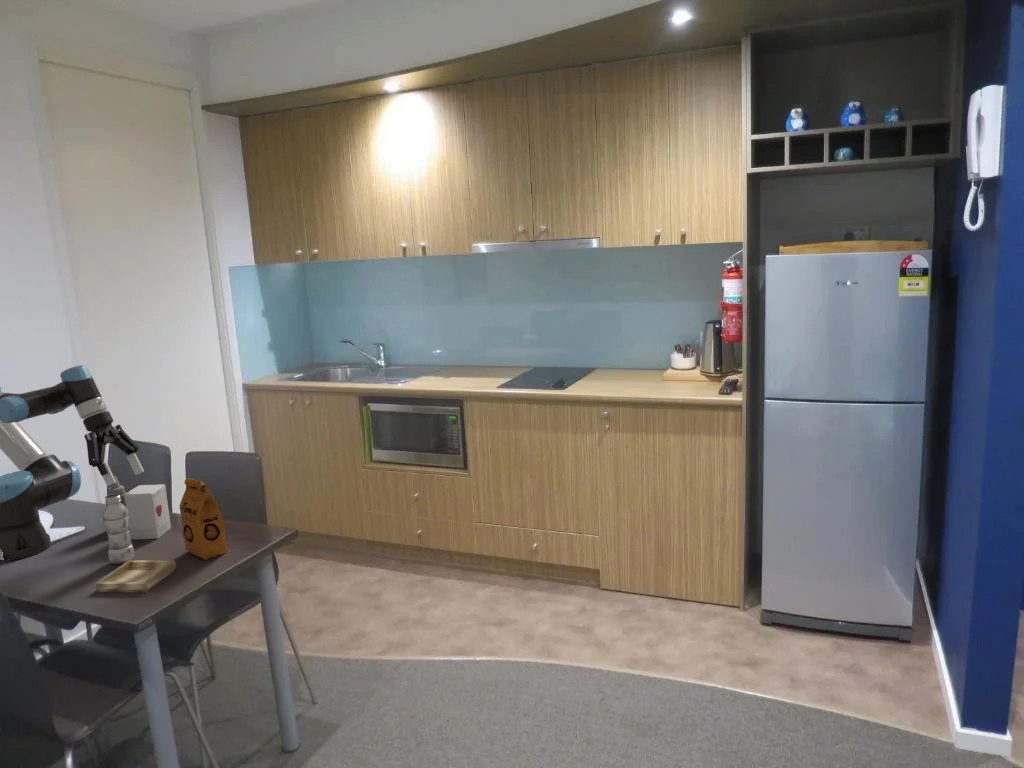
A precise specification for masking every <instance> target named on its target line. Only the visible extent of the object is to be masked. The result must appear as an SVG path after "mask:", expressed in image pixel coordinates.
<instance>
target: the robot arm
mask: <svg viewBox="0 0 1024 768" xmlns="http://www.w3.org/2000/svg"><path fill="white" fill-rule="evenodd" d="M93 377H94V376H93V375H92V374H91V371H90V370H89V369H88V367H87V366H86V365H85V364H84V365H83V364H82V365H81V364H80V365H76V366H73V367H70V368H67V369H64V370H63V371H61V372H60V382H59V383H58V384H55V385H52V386H49V387H44V388H41V389H36V390H31V391H28V392H22V393H12V392H3V391H2V388H1V386H0V450H1V451H2V452H3V454H4V455H5V456H6V457H8V459H9V460H10V461H11V462H12V464H14V466H15V467H16V468H17V469H18V470H19V471H18V470H16V471H13V472H10V473H9V472H8V473H5V474H3V475H0V549H1V550H2V552H3V558H4V561H13V560H19V559H23V558H28V557H31V556H35V555H36V554H39V553H41V552H44V551H46V550H47V549H48V548H49V547H51V545H52V541H51V537H50V534H49V533H48V532H47V531H46V528H45V527H44V525H43V523H42V522H41V518H40V513H39V511H40V510H41V509H44V508H46V507H50V506H51V505H54V504H56V503H59V502H62V501H66V500H67V499H69V498H71V497H73V496H75V495H76V494H77V493H78V492H79V491H80V489H81V485H82V480H81V479H82V475H81V472H80V470H79V468H78V466H77V464H75V462H73V461H70V460H62V461H61V460H60V459H59V458H58V456H56V455H55V454H53V453H47V452H45V450H43V448H42V447H41V446H40V445H39V444H38V443H37V442H36V441H35V439H34V438H33V437H32V436H31V435H30V434H29V433H28V432H27V431H26V430H25V429H24V427H22V425H21V424H20V423H19V422H22V421H25V420H29V419H31V418H32V419H33V418H37V417H40V416H44V415H56V414H58V413H61V412H64V411H65V410H67V409H68V408H69V407H71V406H73V405H74V407H75V410H77V414H78V416H79V418H80V419H82V420H83V421H82V423H83V425H84V427H85V430H86V431H87V432H89V433H86V434H84V439H85V441H86V447H87V448H86V449H87V458H88V465H89V466H92V468H95V467H97V471H99V474H100V476H101V477H102V479H103V480H104V483H105V484H106V487H108V486H109V487H110V486H111V484H113V483H116V480H115V478H114V476H115V475H114V474H113V472H112V471H111V468H110V466H109V464H108V462H107V461H105V453H106V447H107V445H108V444H112V445H114V446H116V447H117V448H118V449H120V450H121V451H122V452H123V453H125V454H126V455H127V456H126V458H127V460H128V462H129V464H130V467H131V469H132V471H133V473H134V475H135V476H137V475H140V474H142V473H143V472H145V470H144V468H143V466H142V464H141V461H140V459H139V457H138V455H137V452H138V451H139V446H138V445H137V443H136V442H134V440H133V439H132V438H131V437H130V436H129V435H128V434H127V433H126V432H125V430H123V427H122V426H121V424H116V425H114V426H113V425H112V423H114V419H113V417H112V415H111V412H110V411H108V407H107V405H106V403H105V401H104V399H103V397H102V395H101V393H100V392H101V391H99V388H98V386H97V384H96V382H95V379H94V378H93Z"/></svg>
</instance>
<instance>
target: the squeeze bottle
mask: <svg viewBox="0 0 1024 768" xmlns="http://www.w3.org/2000/svg"><path fill="white" fill-rule="evenodd" d="M113 476H114V478H115V480H116V483H113V484H111V485H110V486H109V488H107V495H106V496H108V495H112V494H119V495H120V499H121V503H122V504H123V505H124V506H125V507H126V504H125V497H124V495H125V494H126V493H128V492H127V491H126V490H125V486H124V485H121V484H120V482H119V480H118V477H117V476H116V475H113ZM106 506H107V504H106V503H105V507H106ZM128 526H129V525H128Z"/></svg>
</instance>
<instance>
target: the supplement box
mask: <svg viewBox="0 0 1024 768" xmlns="http://www.w3.org/2000/svg"><path fill="white" fill-rule="evenodd" d="M124 497H125V504H126V508H127V509H128V513H129V515H128V525H129V535H130V539H131V541H132V540H133V541H134V540H153V539H154V540H157V539H159V538H161V537H162V536H163V535H164V534H166V533H167V532H168V531H169V530H171V528H172V525H171V518H170V517H171V516H170V510H169V503H168V498H167V497H168V495H167V489H166V484H141V485H140V484H139V485H137V486H136V487H134V488H132V489H131V490H129V491H128V492H127V493H126V494H125V495H124Z"/></svg>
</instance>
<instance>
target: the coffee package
mask: <svg viewBox="0 0 1024 768" xmlns="http://www.w3.org/2000/svg"><path fill="white" fill-rule="evenodd" d="M184 485H186V487H185V491H184V492H183V495H182V498H181V500H180V503H179V511H180V519H181V520H180V521H181V522H180V523H181V526H182V527H181V528H182V530H181V531H182V534H181V535H182V538H183V541H184V545H185V551H187V552H189V553H191V554H193V555H195V557H196V556H197V557H199V558H201V559H203V560H204V561H206V559H207V560H208V559H211V557H213V558H215V557H217V555H218V556H220V555H223V554H226V553H228V548H227V541H226V528H225V525H224V521H223V517H222V514H221V510H220V507H219V505H218V502H217V501H216V498H215V497H214V495H213V494H212V493H211V491H210V489H209V488H208V486H207V485H206V484H205V483H204V482H203V481H201V480H198V479H194V478H189V477H188V478H186V479H185V480H184Z"/></svg>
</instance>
